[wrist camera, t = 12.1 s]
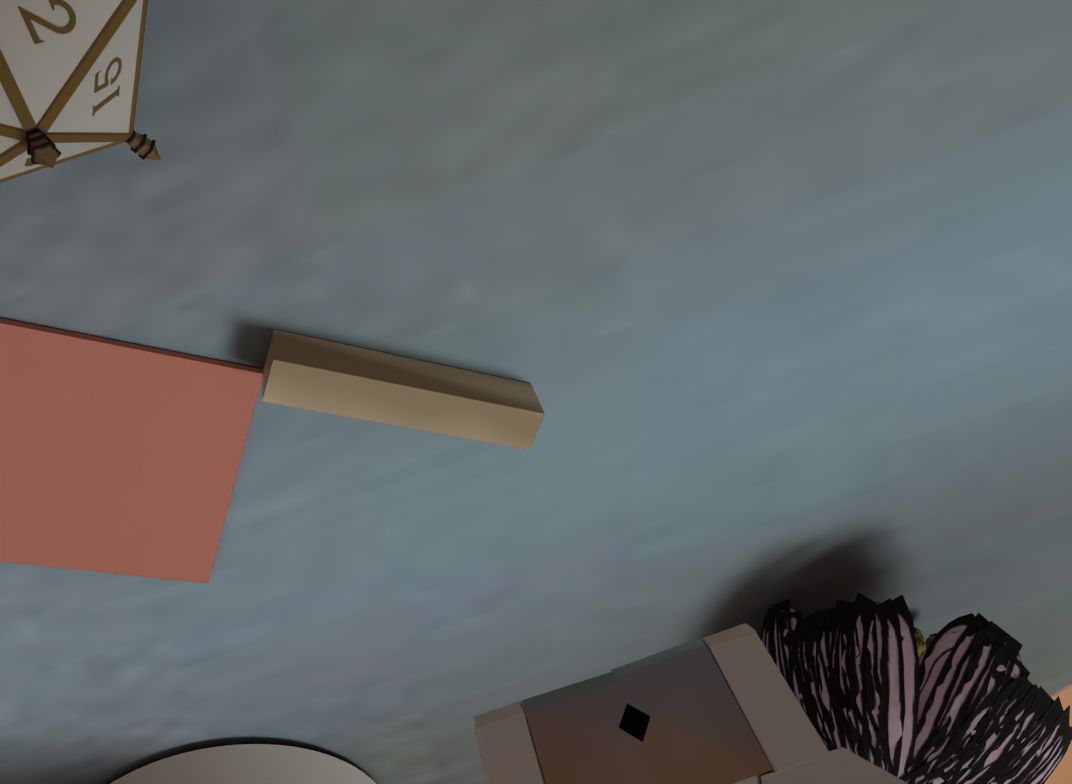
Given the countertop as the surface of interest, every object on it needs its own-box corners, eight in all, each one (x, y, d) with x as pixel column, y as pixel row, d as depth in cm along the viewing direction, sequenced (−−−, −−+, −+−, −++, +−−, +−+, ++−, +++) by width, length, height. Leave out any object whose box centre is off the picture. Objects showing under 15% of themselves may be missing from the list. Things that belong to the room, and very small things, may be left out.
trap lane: (516, 418, 33) (536, 466, 31) (-366, 246, 24) (-442, 295, 21) (719, -76, 26) (766, -67, 23) (-428, -603, 17) (-553, -678, 14)
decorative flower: (846, 716, 31) (1208, 853, 33) (816, 471, 39) (1103, 592, 42) (648, 864, 40) (940, 963, 42) (660, 639, 49) (901, 730, 51)
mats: (208, 577, 33) (207, 583, 33) (-42, 550, 30) (-44, 556, 30) (544, -705, 19) (548, -712, 19) (126, -1001, 16) (123, -1014, 16)
